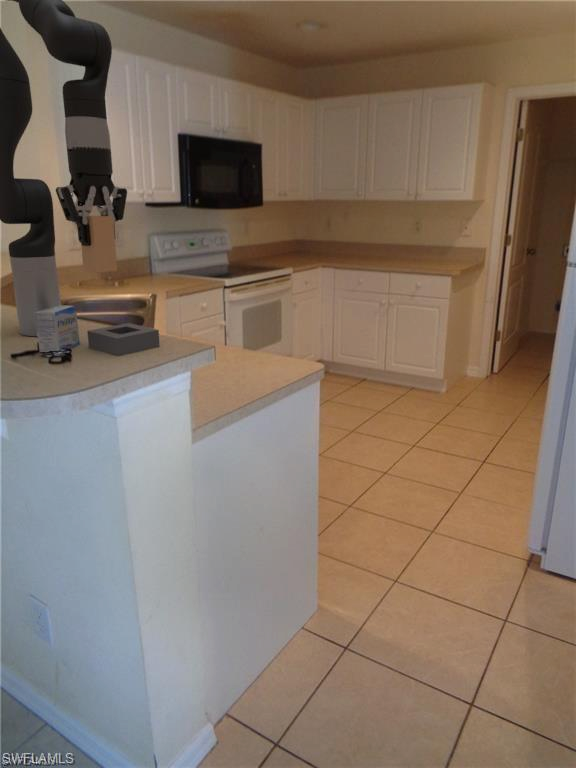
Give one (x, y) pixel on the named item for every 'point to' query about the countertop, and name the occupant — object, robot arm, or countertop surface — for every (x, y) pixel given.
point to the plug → (100, 246)
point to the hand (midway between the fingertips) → (97, 244)
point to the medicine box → (57, 328)
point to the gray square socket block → (123, 339)
